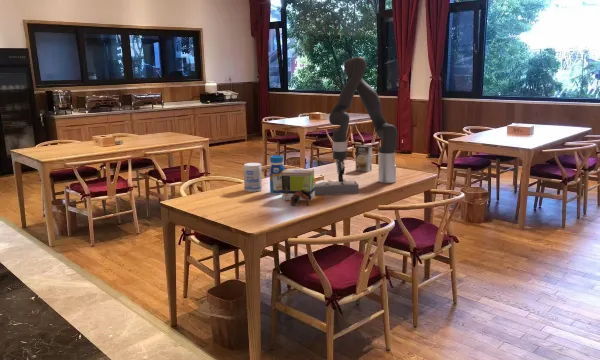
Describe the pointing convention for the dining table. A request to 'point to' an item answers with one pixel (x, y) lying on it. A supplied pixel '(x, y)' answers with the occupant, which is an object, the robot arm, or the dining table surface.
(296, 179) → the tea box
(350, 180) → the plate
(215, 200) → the dining table surface
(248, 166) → the supplement tub
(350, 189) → the strip housing
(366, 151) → the coffee box
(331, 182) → the rocker
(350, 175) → the dining table surface
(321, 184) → the rocker
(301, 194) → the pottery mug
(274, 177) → the beverage bottle
